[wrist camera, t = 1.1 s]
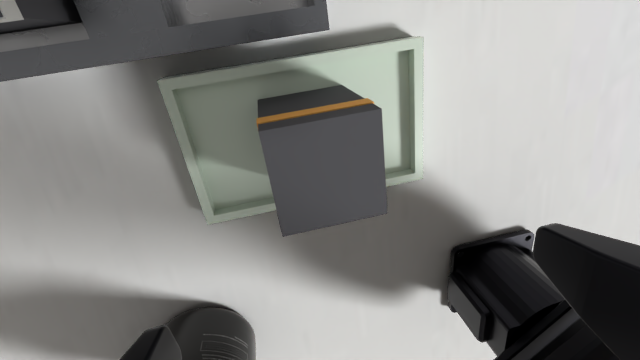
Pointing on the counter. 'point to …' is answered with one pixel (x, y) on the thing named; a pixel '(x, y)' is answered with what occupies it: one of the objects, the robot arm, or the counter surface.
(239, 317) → the supplement bottle
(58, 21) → the twin plug
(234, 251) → the counter surface
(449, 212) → the counter surface
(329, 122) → the dark grey striped block
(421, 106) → the tray
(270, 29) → the strip
